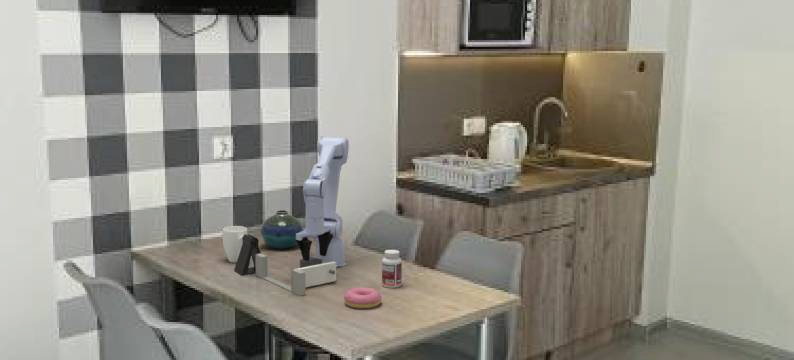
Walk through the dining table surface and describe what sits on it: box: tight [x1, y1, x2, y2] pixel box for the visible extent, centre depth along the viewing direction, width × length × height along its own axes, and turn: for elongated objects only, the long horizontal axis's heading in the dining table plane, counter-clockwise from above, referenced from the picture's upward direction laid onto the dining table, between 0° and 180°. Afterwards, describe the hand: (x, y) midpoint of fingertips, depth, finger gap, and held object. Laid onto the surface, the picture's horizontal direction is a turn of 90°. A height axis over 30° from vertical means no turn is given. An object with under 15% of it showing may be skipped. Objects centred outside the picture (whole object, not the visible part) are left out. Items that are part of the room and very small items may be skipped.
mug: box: [222, 225, 248, 264], centre depth 275 cm, size 12×8×11 cm
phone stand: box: [234, 233, 262, 276], centre depth 264 cm, size 9×6×12 cm, turn 125°
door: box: [294, 262, 337, 288], centre depth 250 cm, size 3×15×6 cm, turn 130°
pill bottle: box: [381, 249, 403, 289], centre depth 253 cm, size 6×6×11 cm
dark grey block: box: [299, 256, 322, 268], centre depth 258 cm, size 5×8×6 cm, turn 50°
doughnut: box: [343, 286, 382, 310], centre depth 235 cm, size 11×11×4 cm
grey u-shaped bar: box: [255, 253, 306, 297], centre depth 251 cm, size 2×26×7 cm, turn 40°
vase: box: [260, 210, 304, 250], centre depth 296 cm, size 15×15×13 cm
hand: (314, 257), depth 258 cm, fingers open, 7 cm apart
